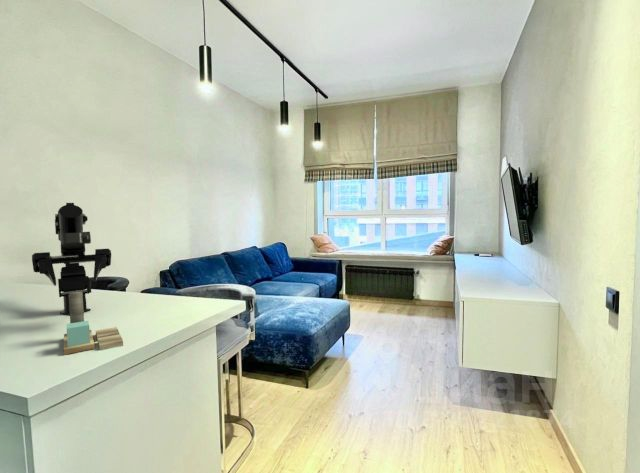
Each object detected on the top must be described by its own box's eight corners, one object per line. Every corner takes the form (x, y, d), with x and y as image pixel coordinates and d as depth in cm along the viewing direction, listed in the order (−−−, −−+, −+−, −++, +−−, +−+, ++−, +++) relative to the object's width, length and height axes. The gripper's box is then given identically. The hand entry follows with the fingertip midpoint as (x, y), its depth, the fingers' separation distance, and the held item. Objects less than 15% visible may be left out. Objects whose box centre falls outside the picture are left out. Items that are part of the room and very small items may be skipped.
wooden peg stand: (64, 338, 94) (61, 293, 93) (91, 333, 97) (88, 289, 96) (64, 354, 83) (60, 303, 82) (94, 348, 86) (91, 299, 85)
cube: (67, 341, 88) (66, 324, 87) (89, 337, 90) (88, 320, 90) (67, 347, 84) (66, 328, 84) (90, 343, 87) (89, 325, 86)
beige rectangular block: (95, 334, 96) (95, 330, 96) (116, 331, 99) (116, 326, 99) (99, 350, 85) (99, 345, 85) (123, 345, 88) (123, 340, 88)
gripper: (30, 223, 97) (30, 267, 89) (108, 222, 108) (115, 261, 100) (33, 250, 104) (33, 293, 95) (107, 246, 115) (113, 284, 106)
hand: (75, 282), depth 99 cm, fingers open, 9 cm apart
